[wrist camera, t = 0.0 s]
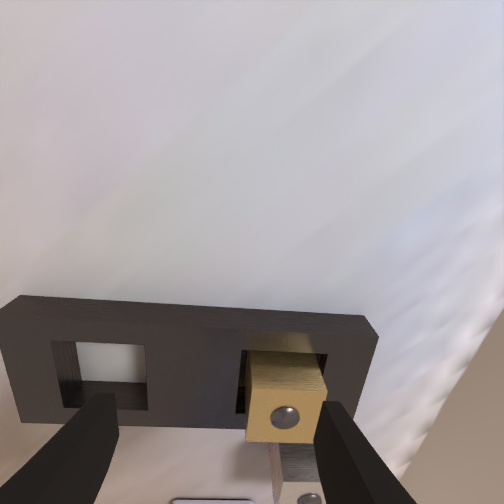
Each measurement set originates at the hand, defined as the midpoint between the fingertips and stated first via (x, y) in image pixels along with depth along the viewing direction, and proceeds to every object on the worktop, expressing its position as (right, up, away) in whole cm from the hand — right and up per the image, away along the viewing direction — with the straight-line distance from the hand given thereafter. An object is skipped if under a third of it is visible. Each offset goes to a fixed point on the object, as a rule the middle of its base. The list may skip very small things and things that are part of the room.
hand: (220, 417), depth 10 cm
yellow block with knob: (+3, -3, +12) cm, 13 cm away
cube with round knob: (+5, -11, +15) cm, 19 cm away
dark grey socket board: (-3, -2, +12) cm, 12 cm away
